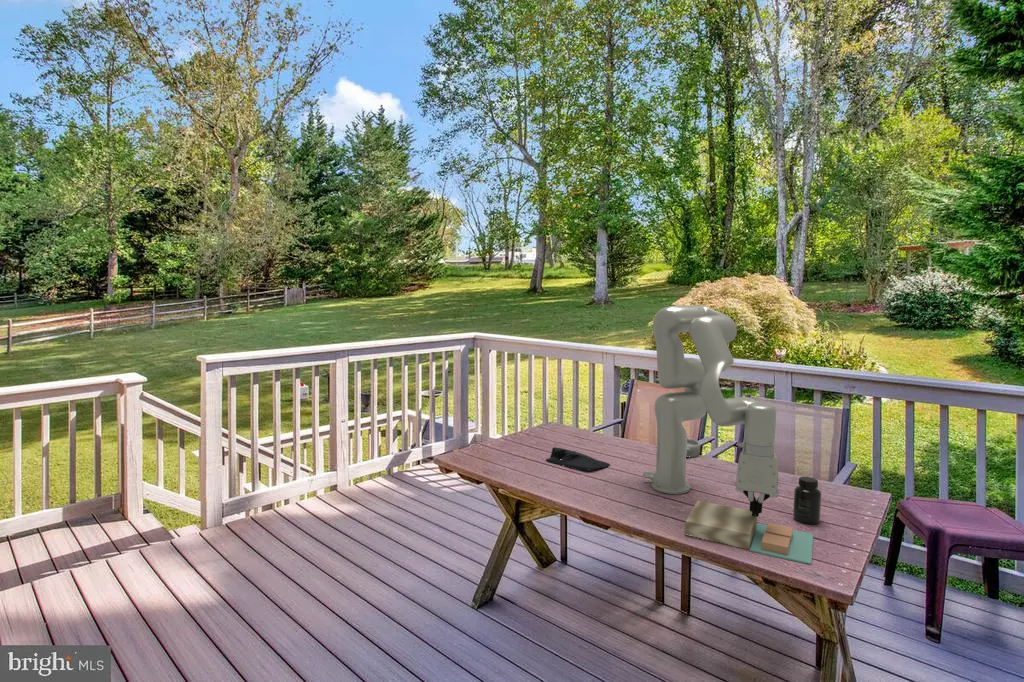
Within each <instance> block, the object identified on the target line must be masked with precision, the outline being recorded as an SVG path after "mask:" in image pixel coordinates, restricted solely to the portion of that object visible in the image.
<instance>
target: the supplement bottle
mask: <svg viewBox="0 0 1024 682" xmlns="http://www.w3.org/2000/svg"><path fill="white" fill-rule="evenodd" d="M798 478H799V479H798V483H797V484H798V486H796V487H795V488H794V493H793V508H792V509H793V511H792V512H793V515H792V517H793V519H794V520H796V521H797V522H799V523H802V524H806V525H817V524H819V523H820V522H821V509H822V508H821V507H822V492H821V490H820V489H819V480H818V479H816V478H814V477H810V476H800V477H798Z"/></svg>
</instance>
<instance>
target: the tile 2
mask: <svg viewBox="0 0 1024 682" xmlns="http://www.w3.org/2000/svg"><path fill="white" fill-rule="evenodd" d="M789 546H790V538H788V537H783V536H779V535H774V534H769V533H764V536H763V539H762V542H761V549H763V550H767V551H771V552H776V553H780V554H784V555H787V554H788V550H789Z"/></svg>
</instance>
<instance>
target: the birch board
mask: <svg viewBox="0 0 1024 682" xmlns="http://www.w3.org/2000/svg"><path fill="white" fill-rule="evenodd" d="M757 519H758V517H756V516H752V512H751V511H750V509H745V508H740V507H734V506H728V505H723V504H718V503H713V502H709V501H703V500H697V501H696V503H695V504H694V506H693V508H692V510H691V512H690V513H689V515H688V516H687V518H686V520H685V531H684V534H688V535H692V536H695V537H698V538H697V539H699V538H702V539H701V540H704V539H706V540H705V541H708V540H711V541H710V542H713V541H715V542H714V543H718V542H720V543H719V544H722V543H724V544H723V545H727V544H728V545H727V546H731V545H732V547H737V548H739V549H740V548H741V549H746V550H750V547H751V544H752V540H753V537H754V534H755V530H756V527H757V523H758V520H757ZM695 537H694V538H695Z"/></svg>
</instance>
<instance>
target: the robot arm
mask: <svg viewBox="0 0 1024 682" xmlns="http://www.w3.org/2000/svg"><path fill="white" fill-rule="evenodd" d="M652 331H653V336H654V341H655V347H656V365H657V367H656V369H657V380H658V383H659V385H660V386H661V387H662V388H664V389H670V390H671V389H672V390H673V389H682V388H684V389H683V391H675V392H667V393H665V394H661V395H659V396H658V397H657V398H656V400H655V402H654V405H653V407H654V414H655V421H656V453H655V455H656V456H655V457H656V459H655V470H653V471H650V470H643V477H644V478H645V479H650V480H651V481H650V486H651V488H652V490H655V491H657V492H659V493H664V494H669V495H682V494H686V493H688V492H690V491H691V484H690V483H689V482H687V478H686V477H687V458H686V457H687V438H688V435H687V432H686V430H685V428H684V425H683V424H682V423H683V422H688V421H694V420H695V421H696V420H700V419H702V418H703V417H704V416H705V415H706V414H707V415H708V417H709V418H710V420H711V421H712V422H713V423H714V424H715V425H716V426H718V427H732V426H740V425H744V431H743V432H744V437H743V441H742V442H740V441H739V442H738V443H737V448H741V449H742V450H741V451H740V452H739V453H740V454H739V456H738V461H737V470H736V481H735V482H736V483H735V485H736V486H735V491H737V492H739V493H741V494H744V495H745V496H746V498H747V499H748V501H749V510H750V511H751V512H752V516H756V517H757V518H758V517H759V516H760V514H762V512H763V504H764V503H763V502H765V501H766V500H768V499H771V498H773V499H775V498H777V499H778V498H779V495H780V494H779V489H778V486H779V466H778V465H779V464H778V458H777V455H776V454H775V445H776V444H775V442H776V441H775V440H776V424H777V410H776V407H775V406H774V404H773V405H772V404H770V403H766V402H761V401H758V400H756V399H753V398H751V397H749V396H738V397H729V398H724V395H723V392H722V391H721V388H720V379H721V378H720V377H721V375H722V373H723V372H725V371H726V370H728V369H730V368H731V367H732V366H733V364H734V362H735V361H734V360H735V359H734V356H733V355H732V353H731V351H730V348H729V346H728V343H731V342H732V341H734V340H735V338H736V337H737V333H738V328H737V325H736V323H735V321H734V320H733V318H731V317H730V316H729V315H727V314H725V313H723V312H720V311H718V310H715V309H712V308H711V307H708V306H705V305H701V304H700V305H699V304H698V305H697V304H693V305H692V304H691V305H671V306H665V307H663V308H660V309H659V310H658V311H657V312H656V314H655V315H654V317H653V320H652ZM677 333H689V335H690V338H691V339H692V342H693V344H694V347H695V350H696V352H697V355H698V357H699V359H700V360H699V359H697V358H693V357H686V358H685V350H684V344H683V342H682V340H681V338H680V336H679V335H678V334H677ZM755 493H758V494H759V495H758V497H756V496H755Z"/></svg>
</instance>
